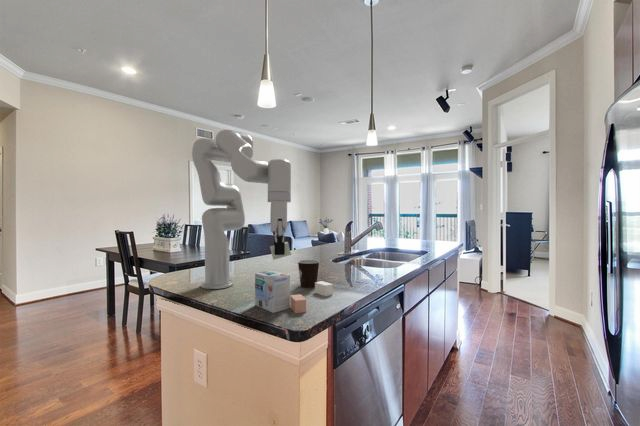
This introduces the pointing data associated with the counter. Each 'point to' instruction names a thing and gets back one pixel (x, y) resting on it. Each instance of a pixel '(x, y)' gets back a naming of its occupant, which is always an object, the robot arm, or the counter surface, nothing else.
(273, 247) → the brick sage
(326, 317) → the counter surface
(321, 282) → the brick cream
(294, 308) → the brick terracotta
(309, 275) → the coffee mug
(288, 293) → the light bulb box
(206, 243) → the robot arm
